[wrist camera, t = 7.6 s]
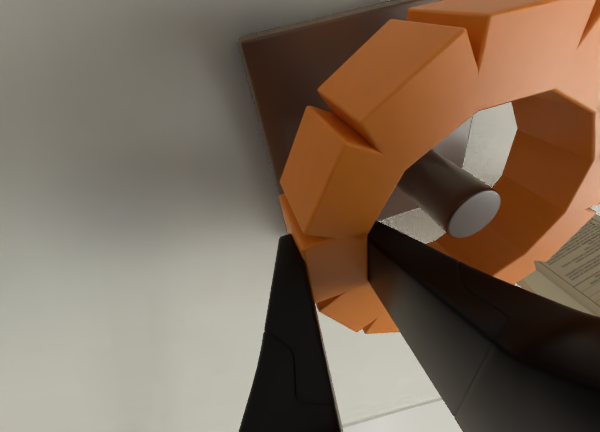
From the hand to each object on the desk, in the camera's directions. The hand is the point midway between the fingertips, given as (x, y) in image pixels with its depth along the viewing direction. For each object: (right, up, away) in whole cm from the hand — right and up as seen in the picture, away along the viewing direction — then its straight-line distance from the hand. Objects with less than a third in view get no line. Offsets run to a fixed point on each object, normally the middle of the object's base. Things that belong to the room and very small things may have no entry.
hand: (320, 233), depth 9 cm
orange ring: (+4, +2, +1) cm, 5 cm away
